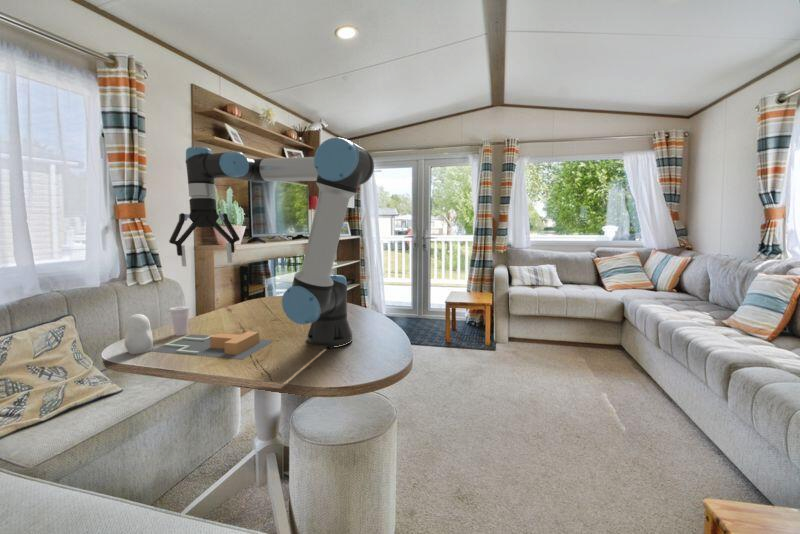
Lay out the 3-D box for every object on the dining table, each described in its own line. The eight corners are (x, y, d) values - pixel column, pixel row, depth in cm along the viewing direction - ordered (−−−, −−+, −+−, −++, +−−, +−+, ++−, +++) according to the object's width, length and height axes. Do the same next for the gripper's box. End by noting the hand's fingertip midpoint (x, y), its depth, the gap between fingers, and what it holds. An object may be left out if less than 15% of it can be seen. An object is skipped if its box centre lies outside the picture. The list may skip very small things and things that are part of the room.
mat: (275, 343, 127) (275, 340, 127) (242, 362, 109) (242, 359, 109) (191, 337, 133) (191, 334, 133) (148, 354, 116) (148, 351, 115)
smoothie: (182, 337, 133) (179, 298, 131) (166, 336, 134) (163, 297, 132) (195, 332, 139) (193, 294, 137) (180, 331, 140) (177, 293, 138)
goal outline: (231, 338, 129) (230, 336, 129) (197, 354, 113) (197, 352, 113) (191, 335, 132) (191, 333, 132) (153, 350, 116) (153, 348, 116)
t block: (259, 342, 125) (258, 332, 124) (236, 354, 113) (236, 343, 113) (226, 339, 127) (226, 329, 127) (201, 351, 115) (200, 340, 115)
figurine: (124, 356, 114) (120, 317, 112) (128, 349, 120) (125, 312, 119) (152, 353, 117) (149, 315, 115) (154, 345, 124) (152, 309, 122)
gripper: (239, 199, 132) (243, 260, 134) (154, 197, 116) (161, 266, 119) (246, 198, 126) (250, 262, 128) (158, 196, 110) (164, 268, 113)
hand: (207, 264), depth 123 cm, fingers open, 13 cm apart
